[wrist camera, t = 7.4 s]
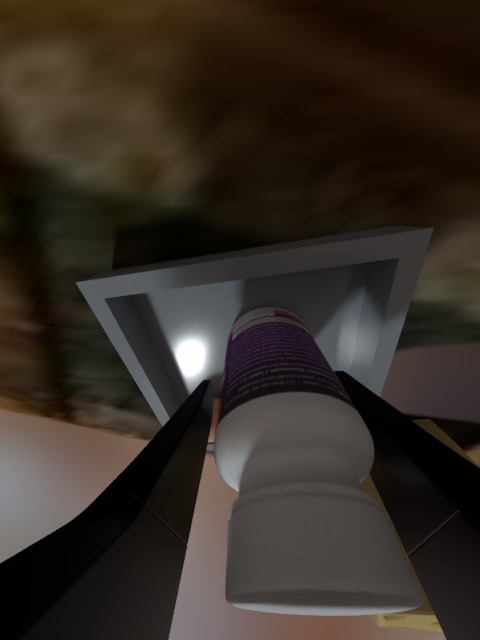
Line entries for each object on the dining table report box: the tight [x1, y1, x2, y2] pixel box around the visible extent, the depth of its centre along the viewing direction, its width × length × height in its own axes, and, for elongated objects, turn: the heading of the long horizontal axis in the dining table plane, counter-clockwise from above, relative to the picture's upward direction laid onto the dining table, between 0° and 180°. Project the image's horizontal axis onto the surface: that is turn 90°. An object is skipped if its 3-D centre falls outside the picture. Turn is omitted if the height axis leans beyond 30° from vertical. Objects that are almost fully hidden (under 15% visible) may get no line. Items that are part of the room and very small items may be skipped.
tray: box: [76, 226, 434, 451], centre depth 13 cm, size 16×16×3 cm
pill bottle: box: [214, 307, 424, 616], centre depth 8 cm, size 5×5×10 cm
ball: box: [208, 397, 220, 442], centre depth 14 cm, size 3×3×3 cm
